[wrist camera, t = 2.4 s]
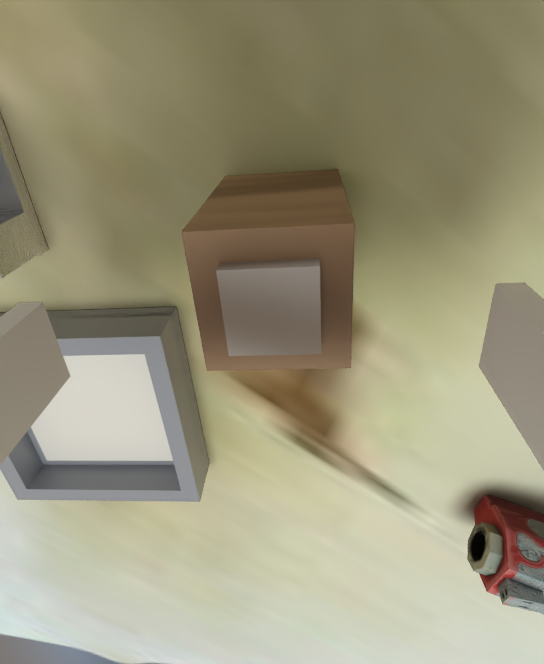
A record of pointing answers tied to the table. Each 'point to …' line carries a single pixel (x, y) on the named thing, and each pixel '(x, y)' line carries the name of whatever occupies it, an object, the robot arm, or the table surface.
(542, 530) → the toy gun
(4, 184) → the axle mount
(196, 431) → the chassis bay
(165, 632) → the table surface
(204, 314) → the walnut block
